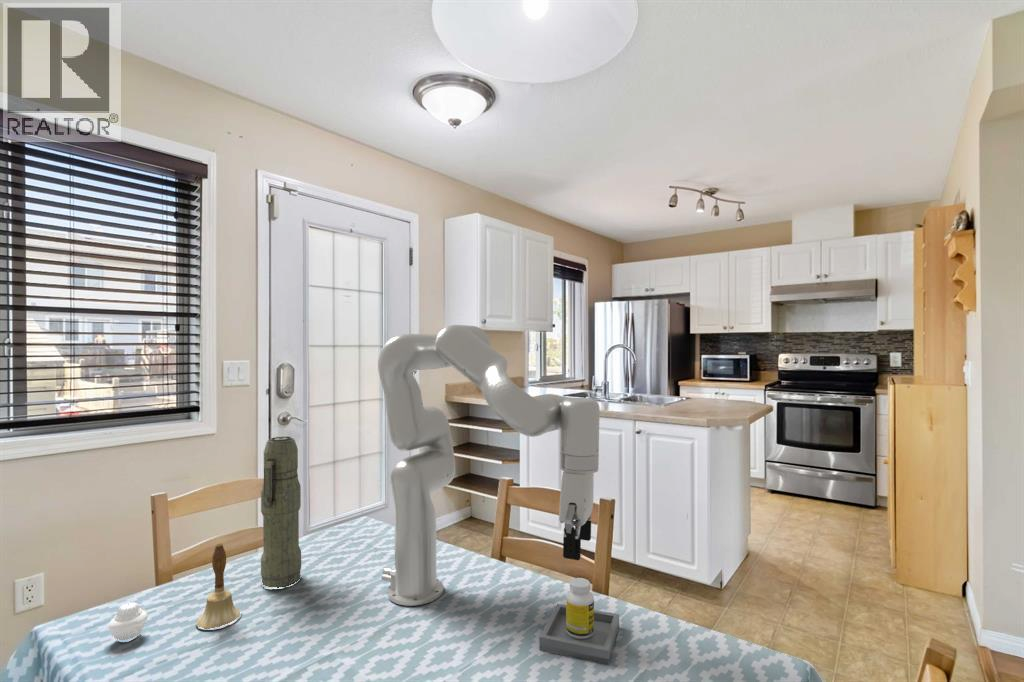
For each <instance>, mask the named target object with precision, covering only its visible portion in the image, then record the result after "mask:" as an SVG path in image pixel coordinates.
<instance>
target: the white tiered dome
mask: <svg viewBox="0 0 1024 682" xmlns="http://www.w3.org/2000/svg"><path fill="white" fill-rule="evenodd" d="M116 612H117V613H116V614H115V615H114V617H113V618H112V619H111V620H110V621H109V624H108V629H109V632H110V634H111V635H112V636H113V637H114V639H115V640H116V639H117V640H118V639H119V640H125V639H126V640H127V639H130V638H133V637H135V636H137V635H138V634H140V635H141V633H142V631H143V630H144V627H145V625H146V622H147V620H148V616H149V615H148V613H147V612H146V611H145V610H143V609H142V608H141V607H140V604H139V603H138V602H128V603H125V604H123V605H121V606H120V607H119V608H118V609H117V610H116ZM117 640H116V641H117Z"/></svg>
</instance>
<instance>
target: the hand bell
mask: <svg viewBox="0 0 1024 682" xmlns="http://www.w3.org/2000/svg"><path fill="white" fill-rule="evenodd" d="M211 564H212V565H211V566H212V570H213V573H214V592H212V593H210V594H209V595H208V596H207V598H206V604H205V608H204V612H203V613H202V615H201V616H200V617H199V618H198V619H197V622H196V623H197V626H199V627H202V628H204V629H210V628H215V627H220V626H222V625H225V624H228V623H230V622H232V621H234V620H235V619H236V618H237V617H239V615H240V612H241V611H240V610H239V609H238V608H237V607H236V606H235V605H234V601H233V595H232V592H231V591H230V590H227V589H225V583H224V582H225V581H224V580H225V579H224V573H225V569H226V566H227V552H226V550H225V548H224V545H223V544H222V543H217V544H216V545H215V547H214V552H213V554H212V558H211Z"/></svg>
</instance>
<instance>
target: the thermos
mask: <svg viewBox="0 0 1024 682" xmlns="http://www.w3.org/2000/svg"><path fill="white" fill-rule="evenodd" d="M298 453H299V449H298V445H297V443H296V440H295V438H293V437H291V436H275V437H271V438H270V439H269V440H267V441H266V444H265V447H264V449H263V483H262V487H261V488H260V489H261V490H260V512H261V514H262V518H263V519H262V520H263V523H262V525H263V528H262V531H263V533H262V534H263V535H262V536H263V538H262V539H263V544H262V546H263V547H262V549H263V550H262V551H263V552H262V553H261V554H262V555H261V557H260V576H261V584H262V583H263V585H265V586H268V587H277V588H279V587H286V586H289V585H291V584H294V583H295V582H297V581H298V580H299V579H300V580H301V578H300V576H301V570H302V550H301V547H300V545H299V544H300V537H299V536H300V534H299V531H300V530H299V529H300V528H299V526H300V523H299V520H300V519H299V518H300V517H299V515H300V514H299V513H300V509H301V504H302V501H301V500H302V499H301V496H302V495H301V493H302V492H301V490H302V489H301V484H300V480H299V474H298V469H299V468H298V467H299V465H298V464H299V459H298V458H299V454H298Z"/></svg>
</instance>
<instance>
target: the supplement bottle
mask: <svg viewBox="0 0 1024 682" xmlns="http://www.w3.org/2000/svg"><path fill="white" fill-rule="evenodd" d="M565 597H566V598H565V601H566V604H565V605H566V631H567V633H568V634H569V635H570V636H571V637H573V638H576V639H587V638H590V637H591V636H592V635H593V633H594V610H595V598H594V594H593V593H592V592H591V581H589V580H588V579H586V578H584V577H574V578H572V579H570V581H569V590H568V591H567V593H566V595H565Z"/></svg>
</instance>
